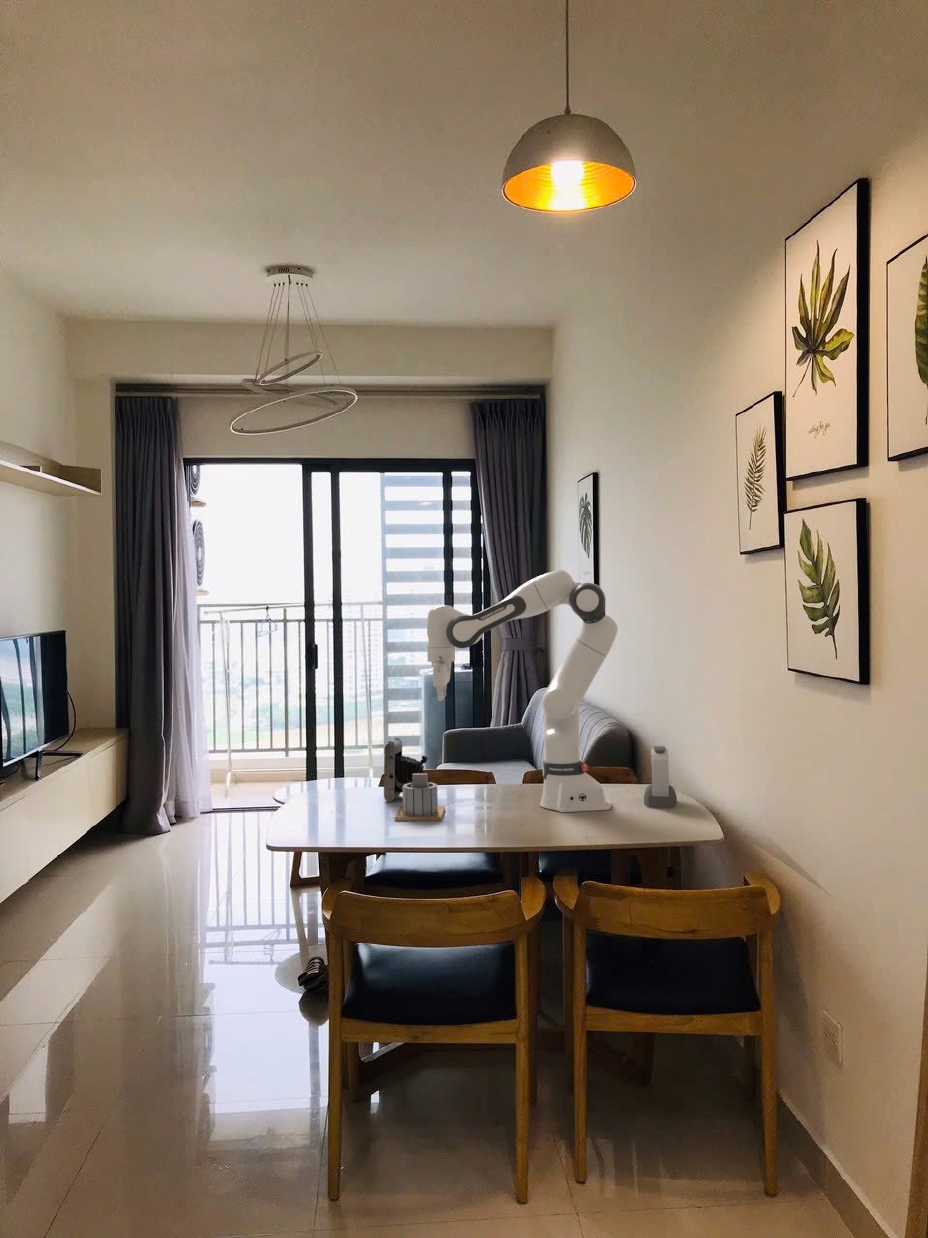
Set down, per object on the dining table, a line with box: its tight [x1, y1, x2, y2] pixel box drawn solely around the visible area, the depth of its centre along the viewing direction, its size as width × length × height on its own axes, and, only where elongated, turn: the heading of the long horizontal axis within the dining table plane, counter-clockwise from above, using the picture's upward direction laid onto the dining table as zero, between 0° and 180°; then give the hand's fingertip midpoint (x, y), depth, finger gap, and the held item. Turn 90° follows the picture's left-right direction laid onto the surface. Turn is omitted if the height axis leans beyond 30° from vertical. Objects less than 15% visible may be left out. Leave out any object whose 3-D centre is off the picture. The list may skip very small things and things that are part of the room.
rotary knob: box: [410, 773, 430, 788], centre depth 272 cm, size 6×6×6 cm
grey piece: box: [643, 745, 678, 809], centre depth 281 cm, size 16×10×18 cm, turn 168°
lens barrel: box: [394, 781, 446, 822], centre depth 272 cm, size 14×14×9 cm
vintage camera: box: [383, 737, 429, 803], centre depth 294 cm, size 10×15×20 cm, turn 78°
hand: (441, 698), depth 286 cm, fingers open, 8 cm apart
